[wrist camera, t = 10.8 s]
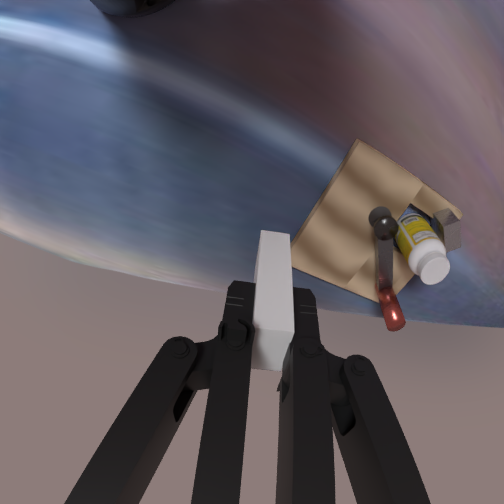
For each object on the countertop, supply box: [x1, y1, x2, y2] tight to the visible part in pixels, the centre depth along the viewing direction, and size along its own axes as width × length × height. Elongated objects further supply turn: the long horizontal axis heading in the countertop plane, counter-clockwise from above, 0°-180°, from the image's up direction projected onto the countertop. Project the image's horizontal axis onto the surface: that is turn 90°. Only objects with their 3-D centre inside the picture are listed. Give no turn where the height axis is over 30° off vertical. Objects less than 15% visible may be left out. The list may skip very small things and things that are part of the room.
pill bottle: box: [394, 213, 450, 285], centre depth 40 cm, size 6×6×11 cm
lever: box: [373, 215, 406, 331], centre depth 41 cm, size 16×4×9 cm, turn 16°
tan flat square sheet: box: [290, 138, 463, 303], centre depth 45 cm, size 22×22×2 cm
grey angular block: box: [430, 208, 461, 253], centre depth 41 cm, size 5×3×6 cm, turn 25°
